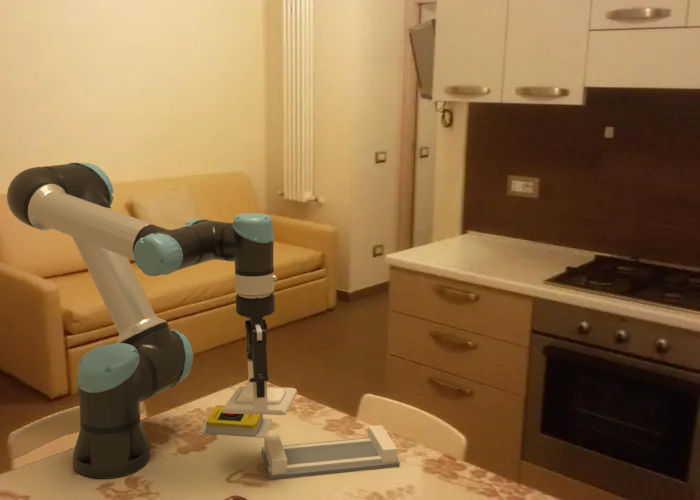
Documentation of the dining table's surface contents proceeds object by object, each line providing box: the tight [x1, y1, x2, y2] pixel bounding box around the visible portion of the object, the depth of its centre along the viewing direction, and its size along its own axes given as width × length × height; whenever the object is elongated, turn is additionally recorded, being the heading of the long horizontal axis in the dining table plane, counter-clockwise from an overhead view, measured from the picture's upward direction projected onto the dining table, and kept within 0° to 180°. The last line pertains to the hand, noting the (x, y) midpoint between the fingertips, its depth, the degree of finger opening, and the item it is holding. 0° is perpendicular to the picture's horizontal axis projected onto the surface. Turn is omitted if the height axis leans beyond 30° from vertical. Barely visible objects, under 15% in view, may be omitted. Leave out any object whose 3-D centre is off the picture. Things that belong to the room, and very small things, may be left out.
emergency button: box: [199, 405, 273, 438], centre depth 169 cm, size 9×4×15 cm
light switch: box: [222, 382, 298, 416], centre depth 150 cm, size 11×4×13 cm
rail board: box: [261, 424, 400, 481], centre depth 156 cm, size 27×12×4 cm, turn 104°
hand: (257, 400), depth 149 cm, fingers closed on light switch, 10 cm apart
